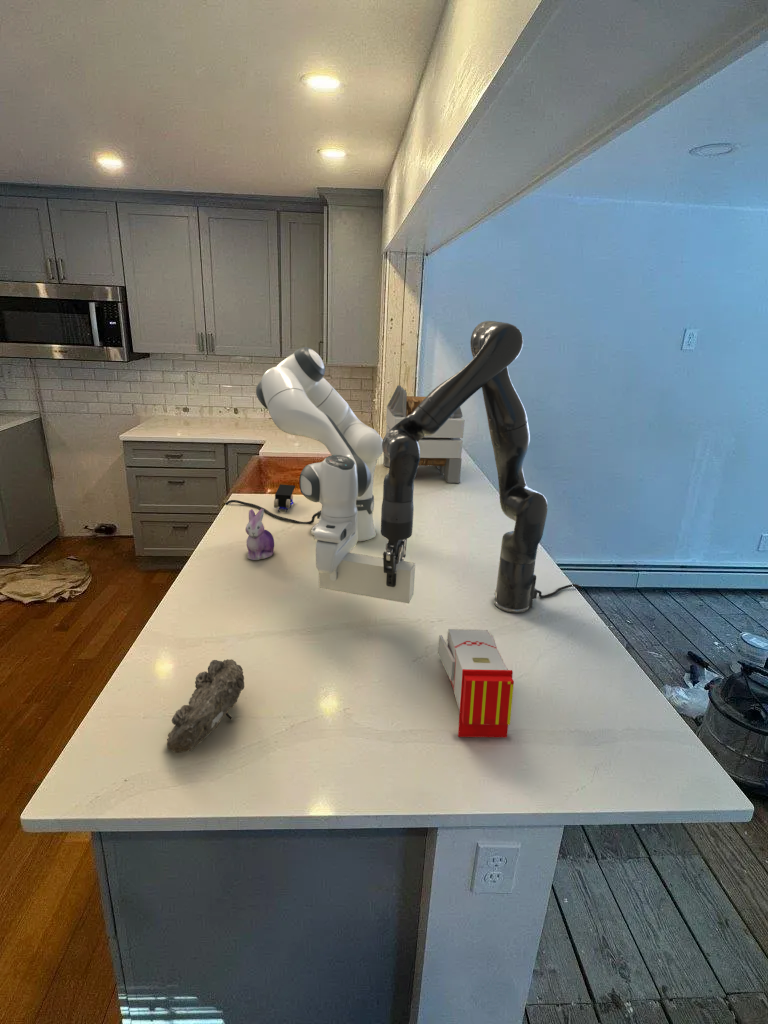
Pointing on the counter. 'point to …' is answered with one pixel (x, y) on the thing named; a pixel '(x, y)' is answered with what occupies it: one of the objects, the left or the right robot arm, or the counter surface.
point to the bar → (371, 578)
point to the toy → (478, 682)
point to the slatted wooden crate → (431, 436)
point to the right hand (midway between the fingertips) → (394, 580)
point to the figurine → (258, 537)
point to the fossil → (206, 705)
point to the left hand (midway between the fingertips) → (338, 574)
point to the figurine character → (284, 497)
